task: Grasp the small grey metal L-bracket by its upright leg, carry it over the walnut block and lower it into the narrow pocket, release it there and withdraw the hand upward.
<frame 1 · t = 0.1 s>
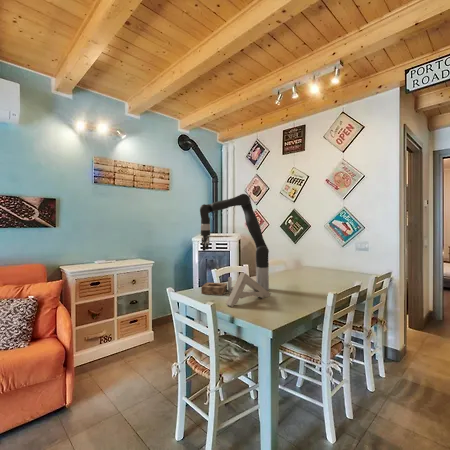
hand: (205, 250, 218), 29 cm above the table, fingers open, 8 cm apart
bracket: (233, 291, 204), on the table
well block: (214, 291, 202), on the table
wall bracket: (249, 301, 180), on the table
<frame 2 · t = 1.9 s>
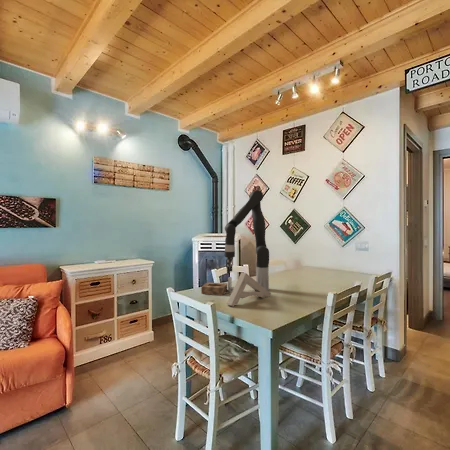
hand: (229, 272, 205), 14 cm above the table, fingers open, 8 cm apart
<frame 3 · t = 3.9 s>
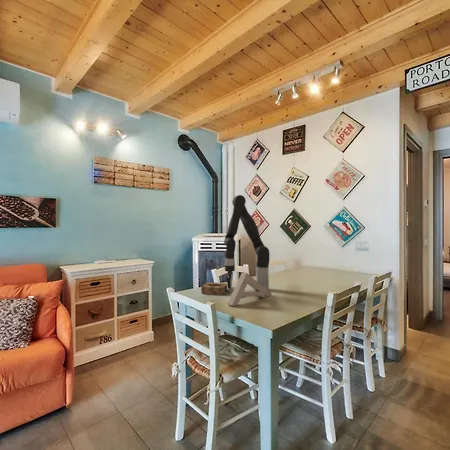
hand: (229, 287, 205), 3 cm above the table, fingers closed on bracket, 4 cm apart
bracket: (233, 291, 204), on the table, touching gripper
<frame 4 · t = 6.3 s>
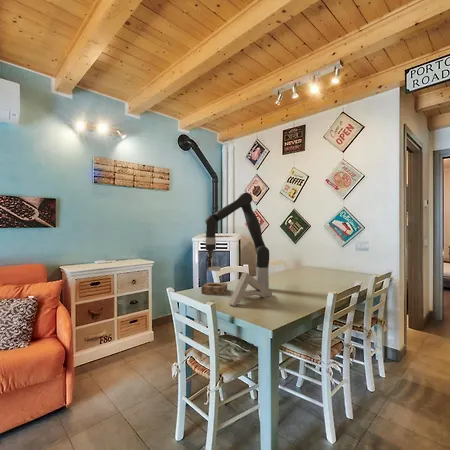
hand: (210, 266, 203), 19 cm above the table, fingers closed on bracket, 4 cm apart
bracket: (214, 270, 202), point 16 cm above the table, touching gripper
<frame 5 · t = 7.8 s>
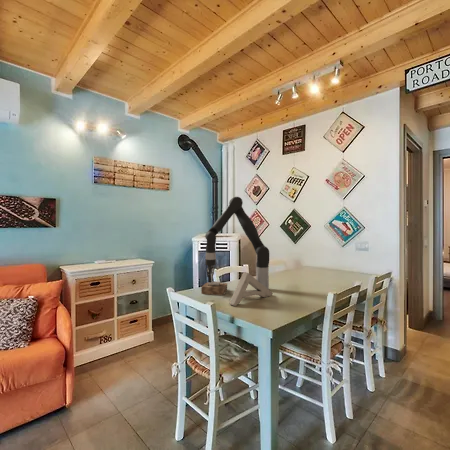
hand: (210, 281, 203), 7 cm above the table, fingers closed on bracket, 4 cm apart
bracket: (214, 285, 202), point 5 cm above the table, touching gripper
when the fingers open (6 cm above the table, at t = 9.1 s): bracket drops 1 cm, resting on well block.
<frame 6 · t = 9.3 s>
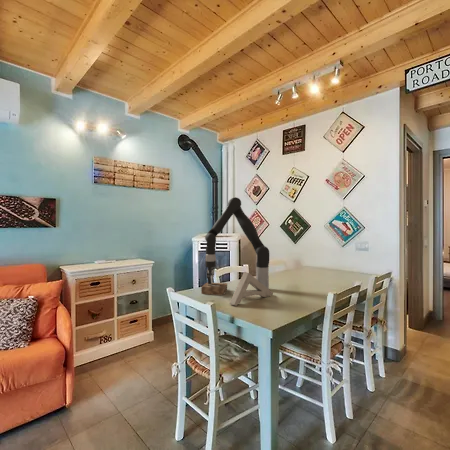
hand: (210, 282, 203), 7 cm above the table, fingers open, 6 cm apart
bracket: (214, 289, 202), point 2 cm above the table, touching well block
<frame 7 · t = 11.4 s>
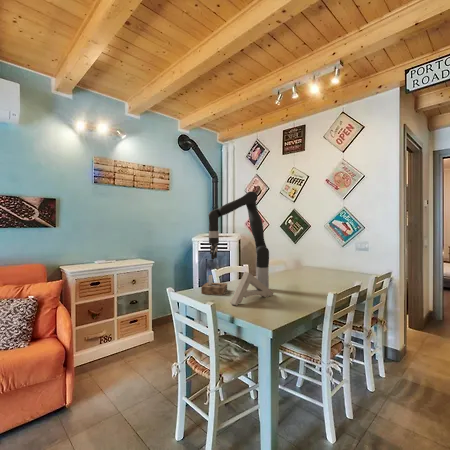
hand: (214, 258, 206), 24 cm above the table, fingers open, 8 cm apart
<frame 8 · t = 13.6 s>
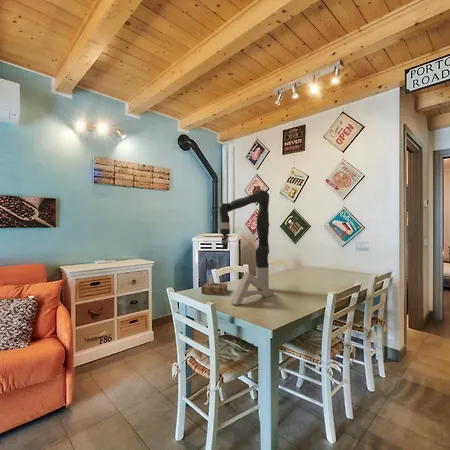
hand: (225, 248, 219), 30 cm above the table, fingers open, 8 cm apart
at the end: bracket 0.1 cm off-centre on the well block, point 2.0 cm above the well block's base; bracket tilted 0°; the gripper is holding nothing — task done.
